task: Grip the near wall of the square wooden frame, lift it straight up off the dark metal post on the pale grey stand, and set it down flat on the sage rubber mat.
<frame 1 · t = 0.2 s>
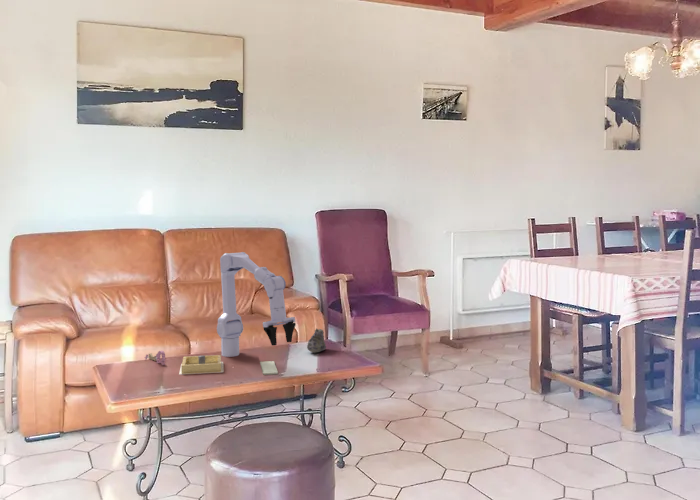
hand: (281, 343, 248), 11 cm above the table, tool pointing down, fingers open, 7 cm apart
post stand: (202, 371, 248), on the table
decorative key: (154, 364, 260), on the table
mat: (252, 369, 252), on the table
mineral rock: (314, 352, 282), on the table
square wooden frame: (201, 367, 248), point 1 cm above the table, touching post stand
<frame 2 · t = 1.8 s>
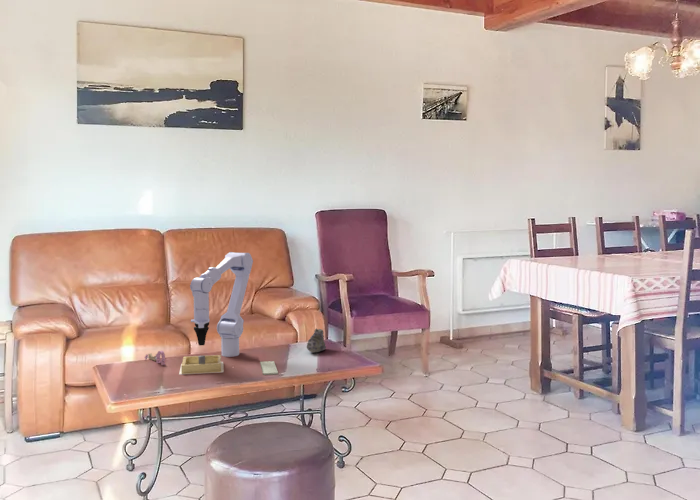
hand: (201, 343, 254), 10 cm above the table, tool pointing down, fingers open, 7 cm apart
nothing on the table moved.
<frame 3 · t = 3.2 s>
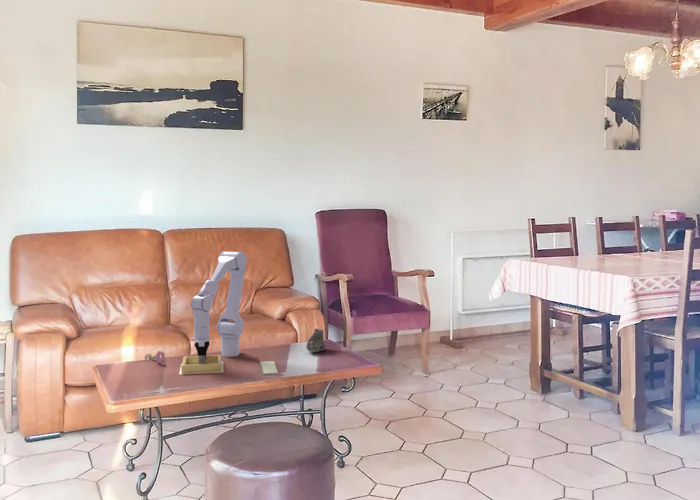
hand: (202, 360, 254), 3 cm above the table, tool pointing down, fingers closed on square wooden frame
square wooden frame: (201, 367, 248), point 1 cm above the table, touching gripper, post stand
everything else where it was.
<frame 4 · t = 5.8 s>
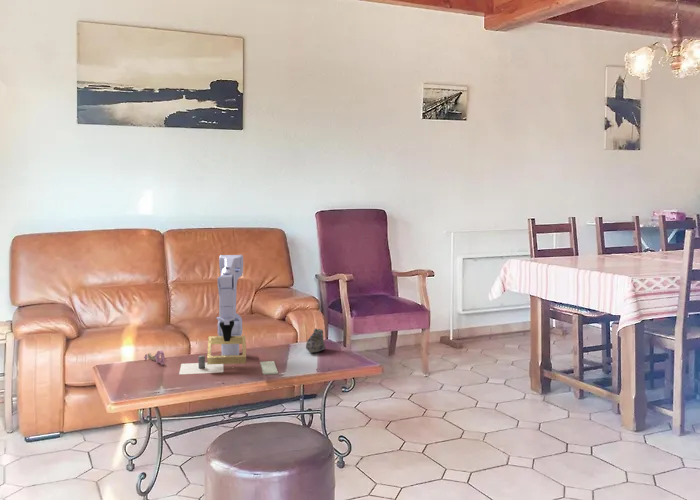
hand: (227, 340, 255), 10 cm above the table, tool pointing down, fingers closed on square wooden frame
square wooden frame: (226, 352, 250), point 7 cm above the table, tilted 22°, touching gripper
everything else where it was.
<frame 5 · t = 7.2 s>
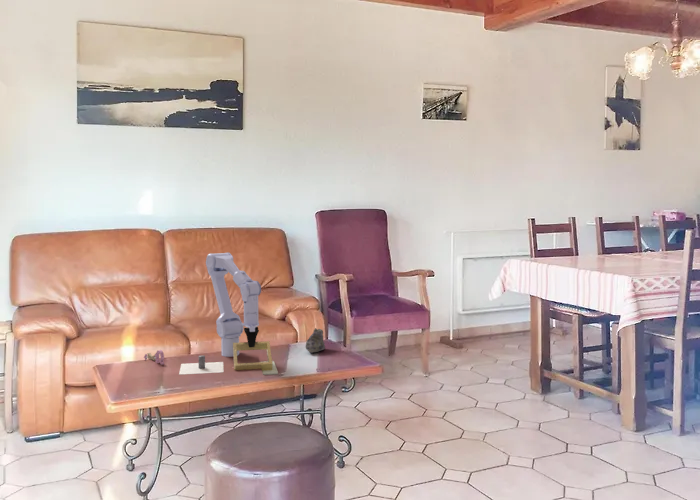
hand: (251, 346, 258), 7 cm above the table, tool pointing down, fingers closed on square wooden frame
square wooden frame: (252, 359, 253), point 4 cm above the table, tilted 25°, touching gripper
everything else where it was.
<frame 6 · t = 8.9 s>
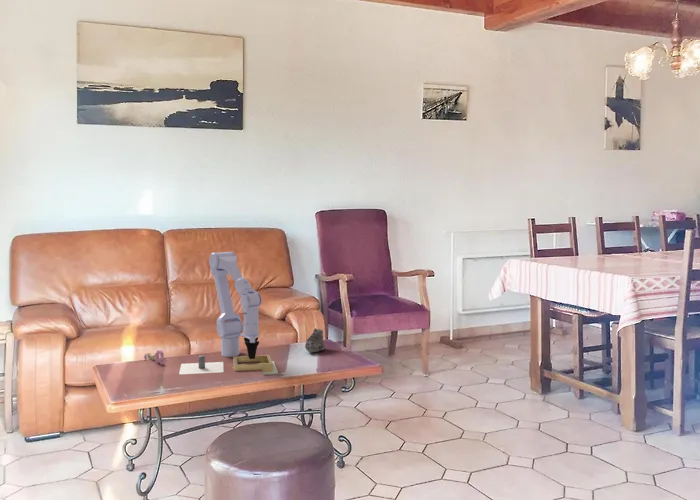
hand: (251, 357, 258), 3 cm above the table, tool pointing down, fingers open, 5 cm apart
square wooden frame: (252, 367, 252), point 1 cm above the table, touching mat
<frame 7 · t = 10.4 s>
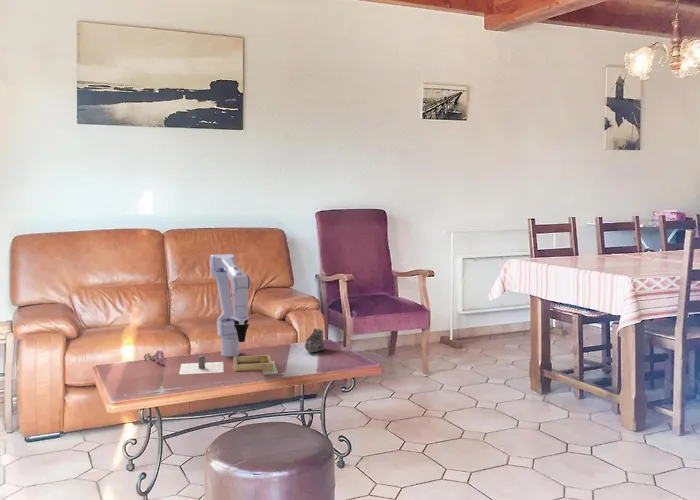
hand: (241, 340, 256), 10 cm above the table, tool pointing down, fingers open, 7 cm apart
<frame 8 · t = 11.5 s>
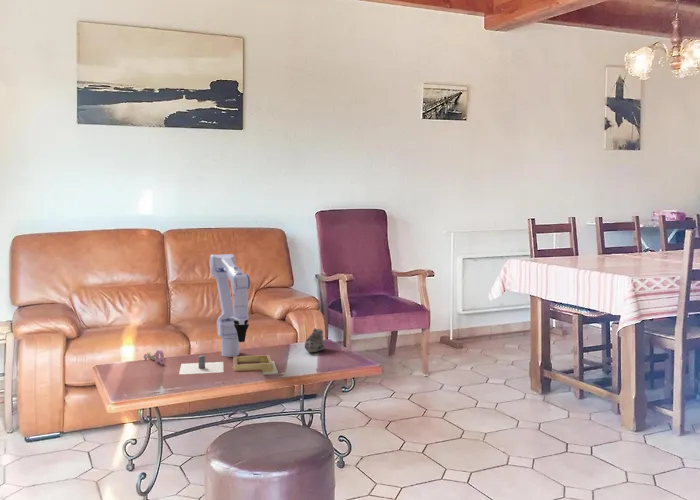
hand: (241, 340, 256), 10 cm above the table, tool pointing down, fingers open, 7 cm apart
at the end: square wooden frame inside the target area (0.2 cm from its centre), point 0.6 cm above the table; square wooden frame tilted 0°; the gripper is holding nothing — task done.
